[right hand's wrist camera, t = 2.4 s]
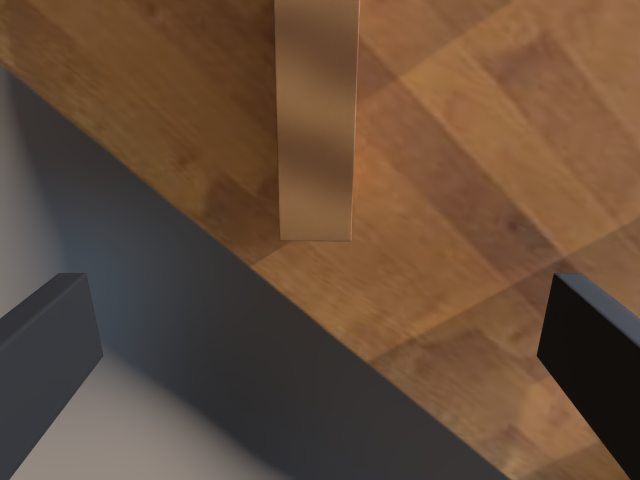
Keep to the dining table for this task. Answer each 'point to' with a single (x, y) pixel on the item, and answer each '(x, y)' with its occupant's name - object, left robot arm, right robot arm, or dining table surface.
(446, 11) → the dining table surface
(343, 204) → the post
